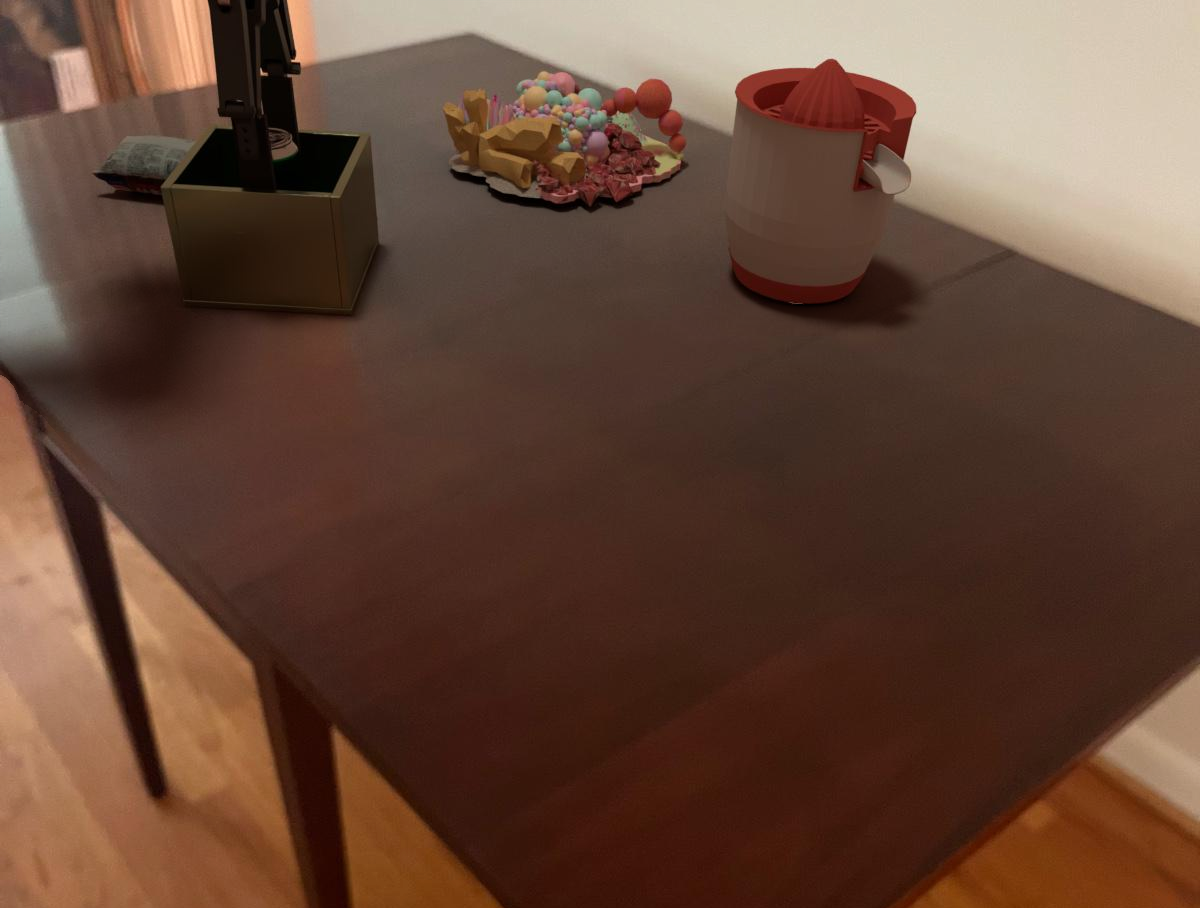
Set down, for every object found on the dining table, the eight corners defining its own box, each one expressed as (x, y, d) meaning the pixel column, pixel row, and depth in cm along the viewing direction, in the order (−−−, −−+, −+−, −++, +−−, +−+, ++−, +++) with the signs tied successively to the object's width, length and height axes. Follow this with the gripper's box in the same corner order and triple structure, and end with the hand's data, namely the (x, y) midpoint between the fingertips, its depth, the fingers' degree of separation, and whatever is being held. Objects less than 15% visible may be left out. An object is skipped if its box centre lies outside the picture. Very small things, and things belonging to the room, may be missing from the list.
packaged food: (138, 165, 124) (127, 117, 121) (242, 179, 123) (235, 131, 120) (95, 197, 118) (83, 148, 115) (205, 212, 116) (196, 163, 113)
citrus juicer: (812, 343, 102) (857, 108, 89) (679, 268, 112) (701, 47, 99) (924, 296, 110) (981, 75, 97) (791, 231, 120) (825, 21, 107)
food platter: (597, 229, 118) (601, 137, 112) (409, 174, 126) (403, 85, 120) (705, 155, 134) (714, 71, 128) (533, 111, 143) (534, 30, 137)
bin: (184, 306, 102) (160, 187, 95) (228, 235, 113) (209, 123, 106) (351, 315, 102) (339, 197, 95) (379, 244, 113) (370, 133, 106)
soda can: (252, 259, 108) (230, 128, 99) (307, 253, 109) (290, 123, 101) (261, 285, 104) (239, 151, 96) (317, 277, 106) (301, 145, 97)
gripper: (246, -97, 78) (288, 226, 93) (312, -152, 94) (339, 131, 109) (133, -104, 78) (194, 221, 93) (219, -158, 94) (259, 127, 109)
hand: (272, 172), depth 101 cm, fingers open, 8 cm apart
